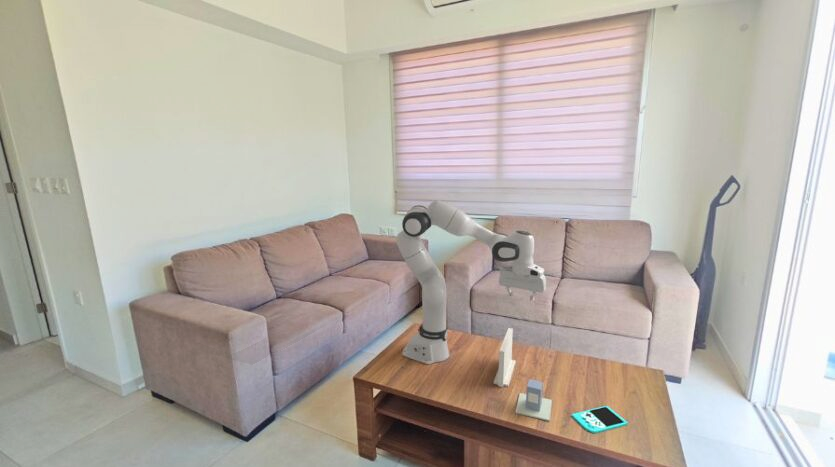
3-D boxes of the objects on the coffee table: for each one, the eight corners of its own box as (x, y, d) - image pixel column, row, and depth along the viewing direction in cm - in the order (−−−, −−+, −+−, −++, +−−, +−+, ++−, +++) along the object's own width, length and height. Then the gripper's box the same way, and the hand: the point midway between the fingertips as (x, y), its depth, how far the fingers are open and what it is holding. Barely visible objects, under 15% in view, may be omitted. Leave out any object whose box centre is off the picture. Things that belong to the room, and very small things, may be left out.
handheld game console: (570, 416, 137) (571, 413, 137) (606, 407, 141) (606, 404, 141) (590, 435, 128) (590, 432, 127) (628, 425, 132) (628, 422, 132)
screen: (493, 385, 155) (494, 349, 152) (502, 358, 175) (504, 327, 172) (507, 388, 153) (509, 352, 150) (515, 361, 173) (517, 329, 169)
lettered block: (525, 408, 140) (526, 386, 138) (528, 399, 145) (529, 379, 143) (539, 412, 138) (540, 390, 136) (541, 403, 143) (543, 382, 141)
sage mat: (515, 413, 138) (515, 411, 138) (519, 394, 149) (519, 392, 149) (549, 421, 134) (549, 420, 134) (551, 401, 145) (551, 399, 145)
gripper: (497, 266, 166) (496, 295, 169) (544, 273, 155) (542, 305, 158) (502, 262, 171) (501, 291, 174) (548, 269, 160) (546, 300, 163)
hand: (521, 298), depth 166 cm, fingers open, 8 cm apart
